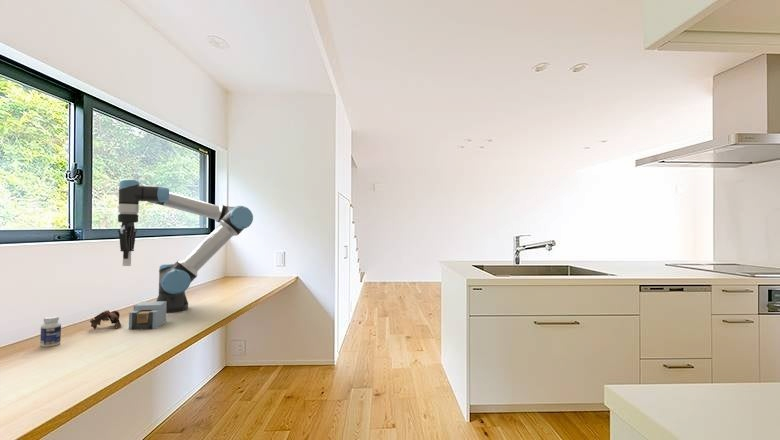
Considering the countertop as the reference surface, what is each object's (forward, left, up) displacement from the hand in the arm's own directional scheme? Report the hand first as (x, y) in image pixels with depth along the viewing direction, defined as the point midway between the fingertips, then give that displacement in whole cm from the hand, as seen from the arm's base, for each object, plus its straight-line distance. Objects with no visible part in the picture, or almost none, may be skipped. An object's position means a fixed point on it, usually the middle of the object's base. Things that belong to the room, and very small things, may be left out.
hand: (126, 265), depth 169 cm
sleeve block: (-4, +17, -24) cm, 30 cm away
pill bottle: (+28, +21, -25) cm, 43 cm away
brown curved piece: (+8, +9, -25) cm, 28 cm away
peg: (-4, +17, -22) cm, 28 cm away
